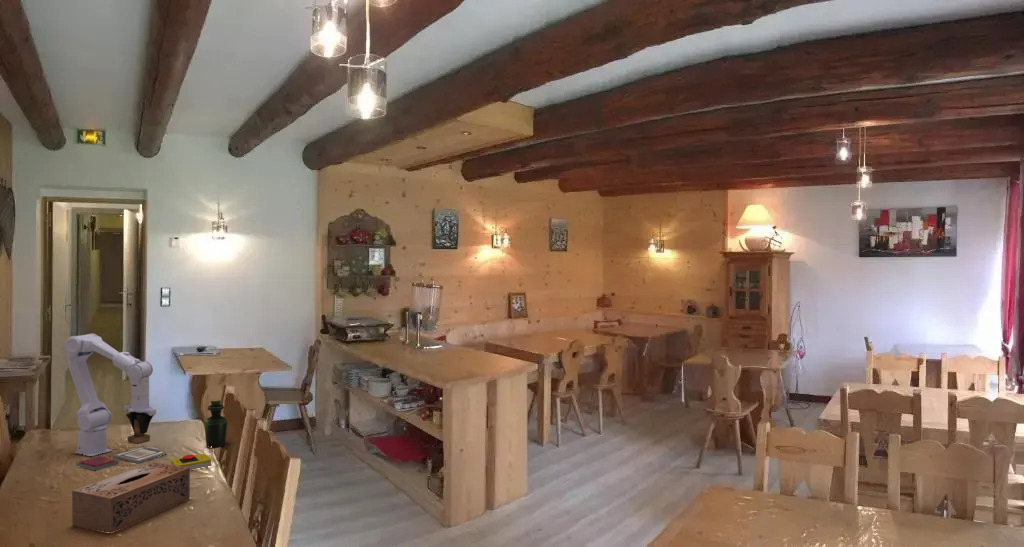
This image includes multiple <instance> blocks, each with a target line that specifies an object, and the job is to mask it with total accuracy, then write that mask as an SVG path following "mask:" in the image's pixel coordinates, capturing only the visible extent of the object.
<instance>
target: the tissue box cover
mask: <svg viewBox="0 0 1024 547" xmlns="http://www.w3.org/2000/svg"><path fill="white" fill-rule="evenodd" d="M190 473H191V471H190V468H188V467H182V466H176V465H171V463H164V462H158V461H153V462H149V463H146V464H144V465H141V466H138V467H135V468H132V469H130V470H127V471H124V472H121V473H119V474H116V475H113V476H110V477H107V478H104V479H102V480H99V481H96V482H94V483H90V484H87V485H84V486H81V487H79V488H75V489H73V490H71V496H72V497H71V498H72V500H71V503H72V506H71V507H72V510H71V511H72V512H71V513H72V516H71V517H72V522H71V523H72V525H75V526H74V527H76V526H79V527H78V528H81V527H84V528H83V529H85V528H88V529H87V530H89V529H94V530H99V531H104V532H110V533H111V532H113V531H116V530H119V529H122V528H124V527H126V526H129V525H131V524H133V523H135V522H138V521H140V520H142V521H144V520H146V519H145V518H147V517H149V516H151V515H153V514H156V513H158V512H160V511H162V510H164V509H167V508H169V507H171V508H173V507H172V506H174V505H176V504H178V505H180V504H182V503H181V502H183V501H185V500H187V499H189V498H190V495H191V494H190V493H191V492H190V491H191V490H190V489H191V488H190V487H191V486H190V485H191V483H190V481H191V479H190V476H191V475H190ZM190 499H191V498H190ZM190 499H189V500H190ZM187 501H188V500H187ZM185 502H186V501H185ZM179 503H180V504H179ZM183 503H184V502H183ZM176 506H177V505H176ZM174 507H175V506H174ZM169 509H170V508H169ZM167 510H168V509H167ZM162 512H163V511H162ZM160 513H161V512H160ZM158 514H159V513H158ZM156 515H157V514H156ZM153 516H154V515H153ZM151 517H152V516H151ZM149 518H150V517H149ZM143 519H144V520H143ZM147 519H148V518H147ZM140 522H141V521H140ZM138 523H139V522H138ZM135 524H136V523H135ZM72 525H71V526H72ZM133 525H134V524H133ZM131 526H132V525H131ZM129 527H130V526H129ZM126 528H127V527H126ZM124 529H125V528H124ZM122 530H123V529H122Z"/></svg>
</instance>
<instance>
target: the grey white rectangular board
mask: <svg viewBox="0 0 1024 547" xmlns="http://www.w3.org/2000/svg"><path fill="white" fill-rule="evenodd" d="M166 453H167V454H168V452H166V451H162V450H160V449H159V448H158V447H154V446H153V447H152V446H147V447H144V446H140V447H137V448H133V449H130V450H127V451H124V452H123V451H122V452H120V453H116V454H113V455H112V459H116V460H121V459H122V461H126V460H127V461H126V462H130V461H131V462H130V463H134V462H136V463H135V464H142V463H145V462H147V461H146V460H148V461H150V460H149V459H151V460H153V459H152V458H155V457H158V456H160V455H163V454H166ZM158 458H159V457H158ZM155 459H156V458H155ZM144 461H145V462H144ZM141 462H142V463H141Z"/></svg>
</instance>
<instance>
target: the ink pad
mask: <svg viewBox="0 0 1024 547" xmlns="http://www.w3.org/2000/svg"><path fill="white" fill-rule="evenodd" d="M75 464H76V467H77V466H80V467H79V468H81V467H83V468H82V469H85V468H87V469H86V470H89V469H91V471H93V470H96V471H99V470H102V468H103V469H105V468H108V467H112V466H115V465H119V459H115V458H109V457H104V456H100V455H97V456H93V457H92V458H91V457H90V458H87V459H84V460H80V461H78V462H76V463H75ZM98 469H99V470H98Z"/></svg>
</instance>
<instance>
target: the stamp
mask: <svg viewBox="0 0 1024 547" xmlns="http://www.w3.org/2000/svg"><path fill="white" fill-rule="evenodd" d="M150 440H151V435H150V434H148V433H143V434H140V428H139V422H138V419H134V432H133V434H132V435H129V436H127V442H128V444H134V445H140V444H144V443H148V442H150Z"/></svg>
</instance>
